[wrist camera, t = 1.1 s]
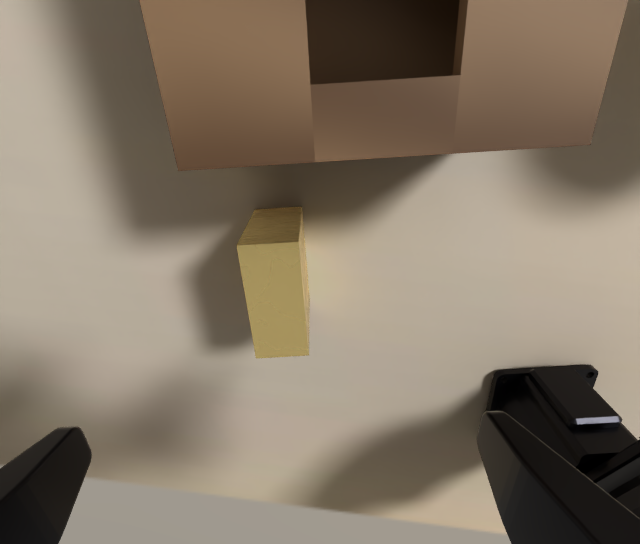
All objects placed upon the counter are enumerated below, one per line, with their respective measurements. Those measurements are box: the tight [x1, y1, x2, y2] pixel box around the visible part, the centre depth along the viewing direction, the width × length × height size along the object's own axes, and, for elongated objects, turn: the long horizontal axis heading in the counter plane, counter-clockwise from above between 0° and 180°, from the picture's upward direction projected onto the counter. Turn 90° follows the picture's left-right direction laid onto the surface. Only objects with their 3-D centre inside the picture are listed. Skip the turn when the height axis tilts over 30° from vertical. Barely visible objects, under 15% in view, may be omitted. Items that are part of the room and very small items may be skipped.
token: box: [237, 206, 310, 358], centre depth 17 cm, size 6×2×5 cm, turn 3°
